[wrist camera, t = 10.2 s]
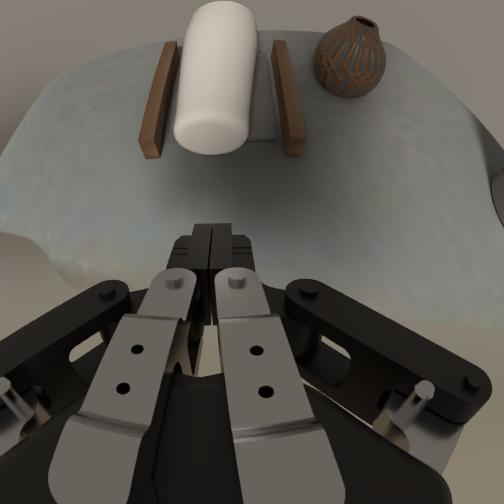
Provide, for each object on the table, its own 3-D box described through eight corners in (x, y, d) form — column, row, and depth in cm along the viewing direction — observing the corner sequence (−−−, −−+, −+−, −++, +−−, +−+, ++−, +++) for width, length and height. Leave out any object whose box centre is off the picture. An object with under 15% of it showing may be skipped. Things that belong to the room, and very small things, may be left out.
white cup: (147, 117, 16) (182, 5, 19) (178, 165, 22) (197, 51, 25) (255, 105, 15) (254, -4, 18) (261, 160, 22) (259, 45, 25)
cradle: (281, 55, 26) (284, 38, 24) (299, 156, 22) (306, 137, 20) (168, 57, 25) (166, 40, 23) (145, 159, 21) (138, 140, 19)
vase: (379, 110, 25) (415, 50, 17) (319, 106, 24) (346, 34, 16) (356, 69, 27) (380, 12, 19) (300, 64, 26) (317, 0, 18)
